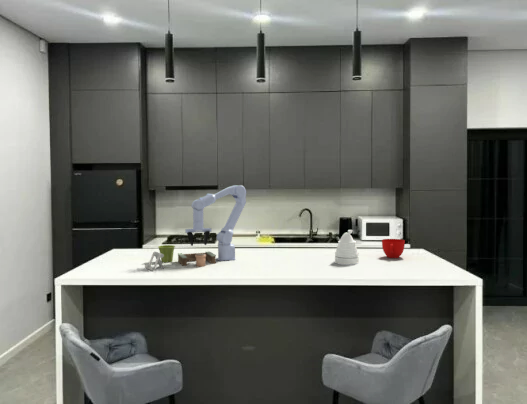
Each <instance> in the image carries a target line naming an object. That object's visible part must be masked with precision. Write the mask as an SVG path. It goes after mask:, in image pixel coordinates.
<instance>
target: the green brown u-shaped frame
mask: <svg viewBox="0 0 527 404" xmlns="http://www.w3.org/2000/svg"><path fill="white" fill-rule="evenodd" d="M196 254H206V257H205V261H208V262H209V263H211V264H216V260H217V259H216V258H217V257H216V256H217V254H215V253H213V252H212V251H208V250H207V251H205V252H198V253H197V252H196V253H195V252H193V253H183V252H181V253H179V252H178V253H177V262H179V264H180V265H182V266H187V265H188V263H187V262H196V257H195V255H196Z"/></svg>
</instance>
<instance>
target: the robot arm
mask: <svg viewBox="0 0 527 404" xmlns="http://www.w3.org/2000/svg"><path fill="white" fill-rule="evenodd" d="M228 195H230V196H232V197H233V198H234V201H235V203H234V207H233V209H232V210H231V213H230V214H229V216H228V218H227V221H226V223H225V225H224V226H223V227H222V228H221V230H220V231H219V232H218V233H217V234H216V240H217V242H218V243H217V257H216V260H217V261H235V260H236V248H235V247H236V246H235V244H234V243H232V241H233V235H234V228H235V227H236V224H237V223H238V220H239V218H240V217H241V214H242V212H243V210H244V208H245V206H246V204H247V190H246V188H245V186H244V185H242V184H239V185H236V184H233V185H231V186H228V187H226V188H224V189H221V190H220V191H218V192H216V193H206V195H203V196H202V197H198V199H195V200H193V201H192V202H191V205H190V206H191V208H192V220H193V222H192V225H193V227H192V228H186V229H185V230H184V231H185V232H184V233H185V234H186V235H187V237H188V238H189V243H190V246H192V247H193V246H194V240H193V239H194V233H203V240H204V242H203V244H204V245H205V246H207V242H208V239H209V237H210V235H211V232H212V228H210V227H206V228H205V227H204V209H205V208H206V207H209V206H211V205H212V204H215V203H216V200H219V199H221V198H223V197H225V196H228Z"/></svg>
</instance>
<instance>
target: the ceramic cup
mask: <svg viewBox="0 0 527 404" xmlns="http://www.w3.org/2000/svg"><path fill="white" fill-rule="evenodd" d="M405 241H406V240H404V239H401V238H400V239H398V238H384V239H381V246H382V248H381V249H382V251H383V253H384V254H385V256H386V257H387V258H390V259H398V258H400V257H401V256H402V255H403V252H404V251H405V243H406V242H405Z"/></svg>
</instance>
